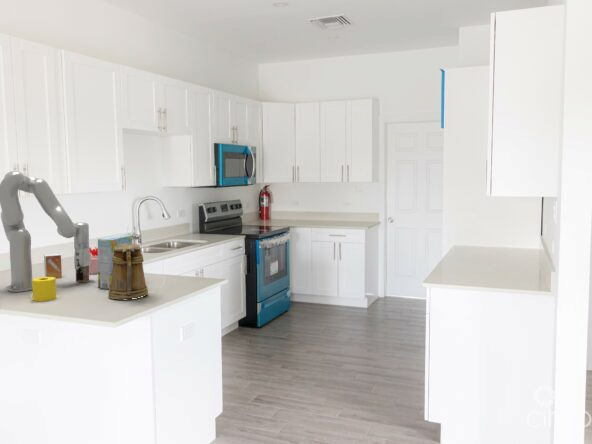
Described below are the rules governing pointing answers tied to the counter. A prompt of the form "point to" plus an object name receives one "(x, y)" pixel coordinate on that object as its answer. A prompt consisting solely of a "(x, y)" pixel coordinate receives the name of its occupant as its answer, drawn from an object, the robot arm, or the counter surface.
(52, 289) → the tape roll
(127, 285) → the tankard
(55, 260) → the small box
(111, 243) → the snack box
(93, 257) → the cake
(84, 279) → the walnut block
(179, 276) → the counter surface
